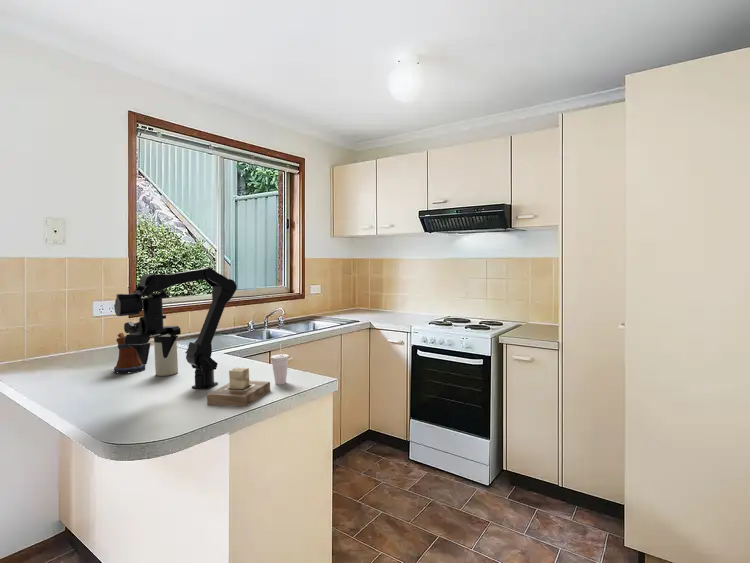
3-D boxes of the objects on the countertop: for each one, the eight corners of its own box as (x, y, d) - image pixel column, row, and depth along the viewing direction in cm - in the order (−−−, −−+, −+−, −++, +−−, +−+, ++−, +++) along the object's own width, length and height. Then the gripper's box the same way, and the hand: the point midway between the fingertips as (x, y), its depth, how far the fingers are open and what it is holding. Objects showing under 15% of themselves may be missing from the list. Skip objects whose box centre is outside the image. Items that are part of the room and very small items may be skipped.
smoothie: (293, 382, 155) (292, 343, 154) (280, 386, 149) (278, 346, 149) (281, 379, 158) (279, 341, 158) (267, 383, 153) (266, 344, 152)
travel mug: (172, 376, 166) (170, 330, 166) (151, 376, 166) (149, 330, 166) (181, 371, 174) (179, 326, 174) (161, 371, 174) (159, 327, 174)
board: (235, 388, 148) (235, 379, 148) (270, 390, 145) (269, 381, 145) (207, 404, 132) (206, 393, 132) (245, 406, 130) (245, 395, 129)
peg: (237, 394, 141) (236, 367, 141) (249, 395, 140) (248, 367, 140) (230, 398, 137) (229, 370, 137) (242, 399, 136) (241, 371, 136)
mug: (107, 368, 182) (105, 333, 181) (137, 363, 190) (135, 329, 189) (117, 376, 169) (115, 338, 168) (149, 370, 177) (147, 334, 176)
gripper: (152, 309, 150) (154, 354, 150) (108, 316, 131) (110, 367, 132) (180, 309, 147) (182, 355, 148) (139, 316, 129) (141, 368, 130)
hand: (155, 361), depth 139 cm, fingers open, 9 cm apart
